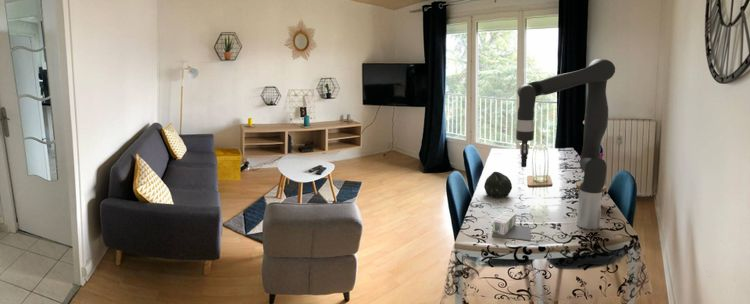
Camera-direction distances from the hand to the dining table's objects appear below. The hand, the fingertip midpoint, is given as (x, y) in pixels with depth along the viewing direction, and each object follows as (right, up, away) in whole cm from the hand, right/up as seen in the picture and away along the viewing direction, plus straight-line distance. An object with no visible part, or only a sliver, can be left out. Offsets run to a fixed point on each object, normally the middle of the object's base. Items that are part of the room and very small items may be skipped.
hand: (523, 166), depth 214 cm
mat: (-7, -29, -4) cm, 30 cm away
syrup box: (-5, -24, +4) cm, 25 cm away
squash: (0, -18, +45) cm, 48 cm away
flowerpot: (+44, -21, +30) cm, 57 cm away
